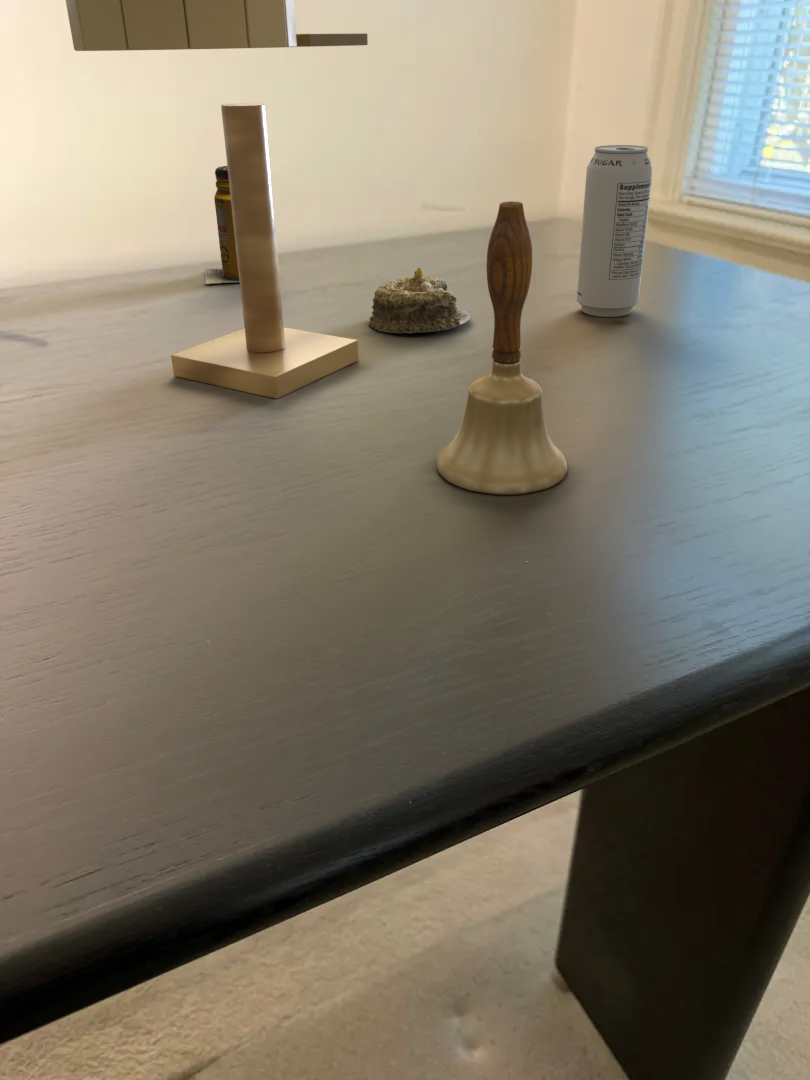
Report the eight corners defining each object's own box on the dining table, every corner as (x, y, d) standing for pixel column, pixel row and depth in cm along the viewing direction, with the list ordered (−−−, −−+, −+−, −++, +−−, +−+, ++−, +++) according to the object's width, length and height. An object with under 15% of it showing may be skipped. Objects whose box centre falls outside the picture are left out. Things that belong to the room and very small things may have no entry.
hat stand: (173, 376, 73) (133, 107, 64) (260, 342, 81) (236, 99, 72) (276, 399, 68) (250, 110, 58) (358, 360, 76) (347, 101, 66)
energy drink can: (606, 299, 93) (621, 143, 85) (650, 311, 88) (669, 147, 81) (563, 308, 90) (574, 147, 82) (605, 321, 85) (621, 152, 78)
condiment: (280, 280, 102) (270, 169, 97) (205, 285, 101) (191, 172, 95) (275, 267, 109) (265, 161, 103) (204, 271, 107) (191, 164, 101)
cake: (379, 347, 81) (372, 288, 79) (361, 320, 90) (354, 266, 87) (483, 330, 82) (480, 271, 80) (456, 305, 91) (452, 251, 88)
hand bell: (582, 492, 53) (607, 212, 45) (444, 498, 53) (446, 216, 45) (551, 438, 60) (568, 189, 53) (429, 444, 60) (429, 193, 52)
